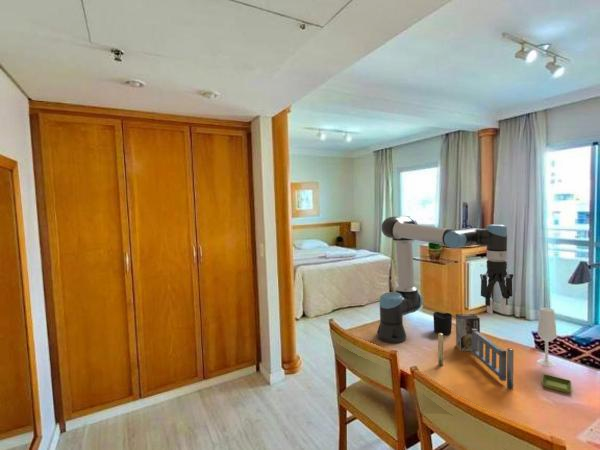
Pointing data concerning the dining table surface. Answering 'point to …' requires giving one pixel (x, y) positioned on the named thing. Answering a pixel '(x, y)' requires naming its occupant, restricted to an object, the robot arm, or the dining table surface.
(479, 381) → the dining table surface
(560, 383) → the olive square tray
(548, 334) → the champagne flute
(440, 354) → the post
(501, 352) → the gate
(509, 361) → the hinge post
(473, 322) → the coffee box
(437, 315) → the pen holder
